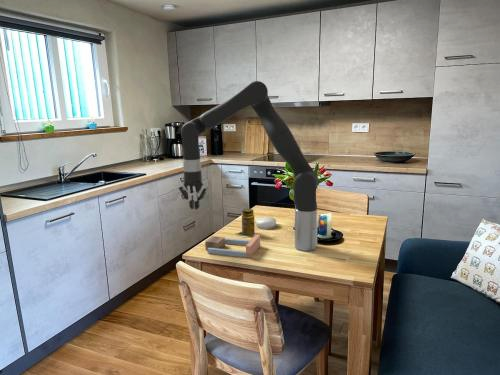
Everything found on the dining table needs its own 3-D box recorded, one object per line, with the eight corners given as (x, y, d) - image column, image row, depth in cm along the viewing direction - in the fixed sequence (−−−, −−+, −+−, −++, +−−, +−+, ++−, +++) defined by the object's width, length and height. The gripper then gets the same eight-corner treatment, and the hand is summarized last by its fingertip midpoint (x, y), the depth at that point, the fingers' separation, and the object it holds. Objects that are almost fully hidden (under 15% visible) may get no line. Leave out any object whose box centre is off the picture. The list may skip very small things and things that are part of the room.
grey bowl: (278, 224, 194) (278, 217, 193) (273, 230, 185) (273, 223, 184) (259, 222, 197) (259, 216, 196) (254, 228, 188) (254, 222, 187)
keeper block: (224, 245, 166) (224, 237, 165) (218, 251, 159) (217, 242, 158) (212, 244, 168) (212, 236, 167) (205, 250, 161) (205, 241, 160)
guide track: (260, 245, 164) (260, 234, 163) (250, 257, 151) (250, 246, 150) (220, 241, 170) (219, 231, 169) (207, 253, 157) (207, 242, 156)
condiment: (258, 234, 179) (257, 210, 176) (243, 238, 174) (242, 213, 172) (249, 230, 185) (249, 207, 182) (235, 233, 180) (234, 210, 178)
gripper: (210, 168, 160) (212, 207, 164) (182, 167, 164) (184, 205, 168) (203, 171, 153) (205, 212, 157) (173, 170, 157) (176, 210, 161)
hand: (194, 208), depth 162 cm, fingers closed
